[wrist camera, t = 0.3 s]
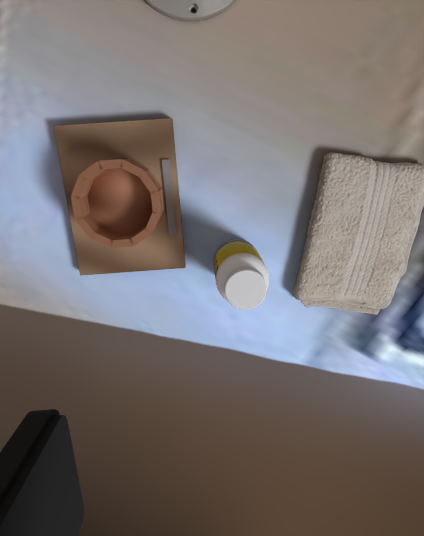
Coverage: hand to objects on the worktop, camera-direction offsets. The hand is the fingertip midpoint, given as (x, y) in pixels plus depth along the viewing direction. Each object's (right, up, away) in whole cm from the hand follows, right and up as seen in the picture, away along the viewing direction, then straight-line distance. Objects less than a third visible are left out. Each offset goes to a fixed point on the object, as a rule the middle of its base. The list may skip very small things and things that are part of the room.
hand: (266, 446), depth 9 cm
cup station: (-11, +12, +32) cm, 36 cm away
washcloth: (+15, +8, +35) cm, 39 cm away
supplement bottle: (+2, +5, +35) cm, 35 cm away
